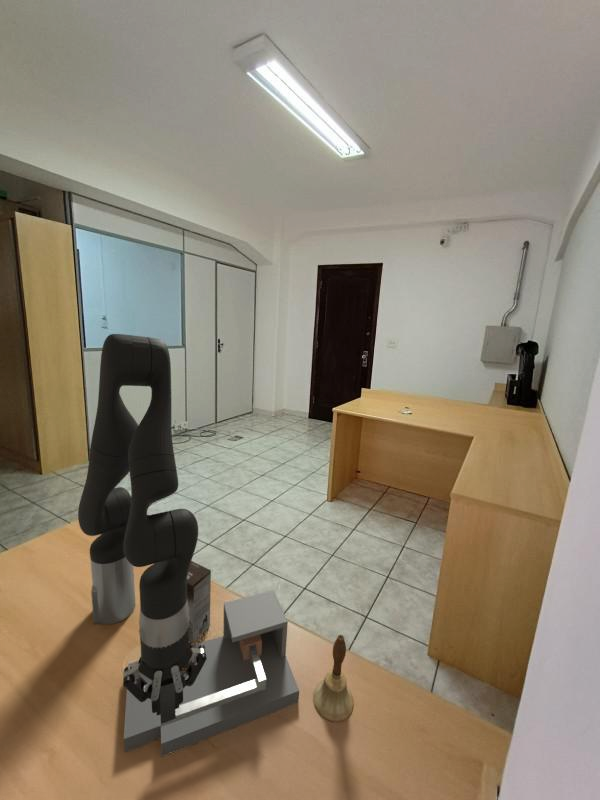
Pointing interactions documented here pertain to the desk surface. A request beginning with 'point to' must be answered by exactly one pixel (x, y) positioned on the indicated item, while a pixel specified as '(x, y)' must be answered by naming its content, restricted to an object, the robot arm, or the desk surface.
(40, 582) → the desk surface
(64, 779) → the desk surface
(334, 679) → the hand bell
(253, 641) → the block
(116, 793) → the desk surface
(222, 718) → the cubby
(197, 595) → the coffee box
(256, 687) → the grey bar handle
